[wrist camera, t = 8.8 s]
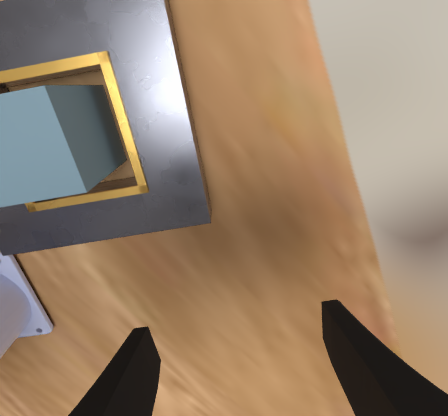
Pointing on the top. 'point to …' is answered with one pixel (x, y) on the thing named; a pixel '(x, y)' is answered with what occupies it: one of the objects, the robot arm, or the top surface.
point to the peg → (55, 142)
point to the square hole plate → (125, 112)
